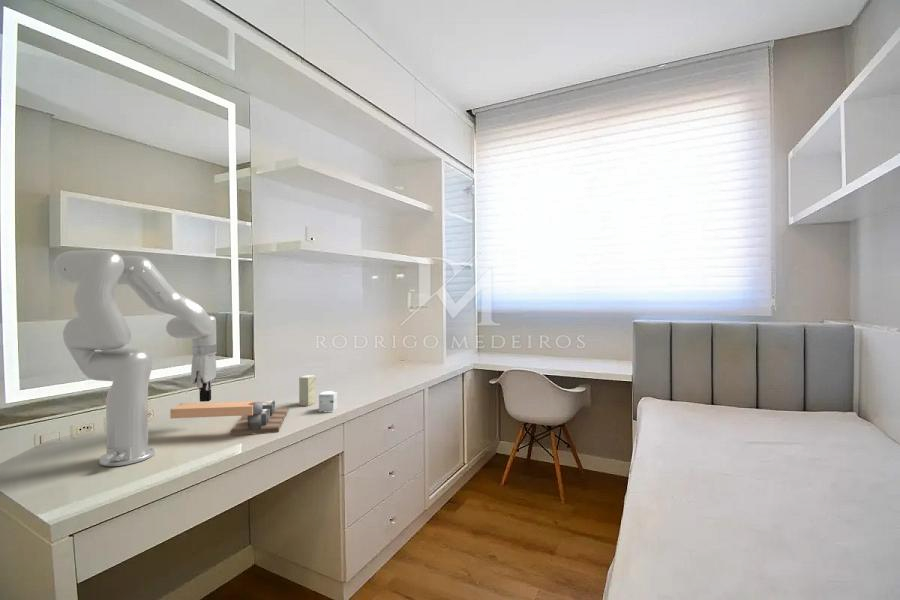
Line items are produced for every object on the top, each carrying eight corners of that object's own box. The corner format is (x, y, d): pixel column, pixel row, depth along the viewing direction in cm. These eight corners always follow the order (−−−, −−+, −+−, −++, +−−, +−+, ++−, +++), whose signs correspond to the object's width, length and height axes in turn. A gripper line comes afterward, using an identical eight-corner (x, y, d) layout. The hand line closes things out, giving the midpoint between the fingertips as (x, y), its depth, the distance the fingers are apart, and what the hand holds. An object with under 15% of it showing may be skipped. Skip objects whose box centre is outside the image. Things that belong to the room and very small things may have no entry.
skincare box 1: (308, 406, 175) (308, 377, 175) (298, 405, 176) (298, 377, 176) (315, 402, 181) (315, 374, 181) (306, 402, 182) (306, 374, 182)
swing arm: (265, 409, 145) (265, 400, 145) (259, 415, 138) (259, 406, 138) (181, 412, 141) (181, 403, 141) (170, 418, 134) (170, 409, 134)
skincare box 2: (318, 412, 166) (318, 394, 166) (322, 408, 172) (322, 390, 172) (333, 412, 166) (333, 394, 166) (337, 408, 172) (337, 390, 172)
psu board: (278, 432, 141) (278, 413, 141) (229, 436, 138) (229, 416, 138) (288, 411, 167) (288, 394, 167) (248, 413, 164) (248, 397, 164)
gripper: (202, 347, 155) (203, 396, 155) (183, 353, 140) (184, 407, 140) (223, 346, 156) (224, 395, 156) (206, 353, 141) (207, 406, 141)
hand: (205, 400), depth 148 cm, fingers closed
